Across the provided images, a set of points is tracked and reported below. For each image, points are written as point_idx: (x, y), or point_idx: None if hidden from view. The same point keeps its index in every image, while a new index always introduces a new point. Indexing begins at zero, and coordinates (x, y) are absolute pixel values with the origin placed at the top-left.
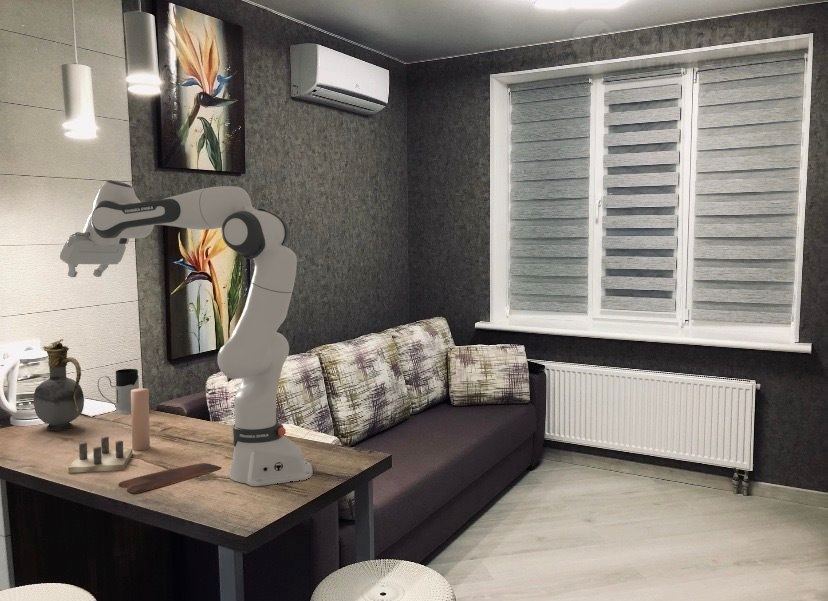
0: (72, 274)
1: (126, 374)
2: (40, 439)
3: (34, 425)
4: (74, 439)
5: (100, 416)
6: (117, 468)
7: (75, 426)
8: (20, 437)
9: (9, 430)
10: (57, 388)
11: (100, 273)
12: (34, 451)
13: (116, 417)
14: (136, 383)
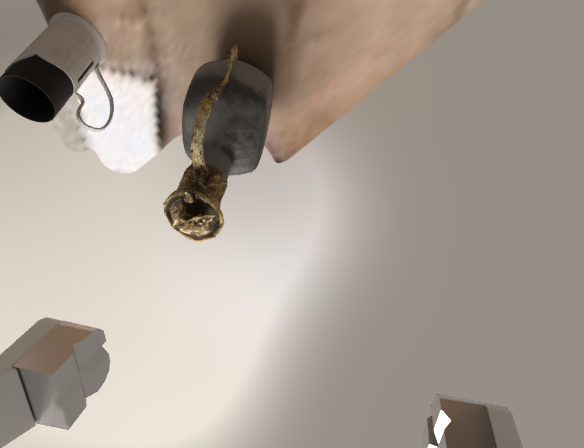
0: (516, 444)
1: (39, 83)
2: (319, 59)
3: None
4: None
5: (143, 65)
6: None
7: None
8: (323, 103)
9: (297, 146)
10: (246, 123)
11: (36, 352)
12: (396, 6)
13: (123, 27)
14: (26, 54)
